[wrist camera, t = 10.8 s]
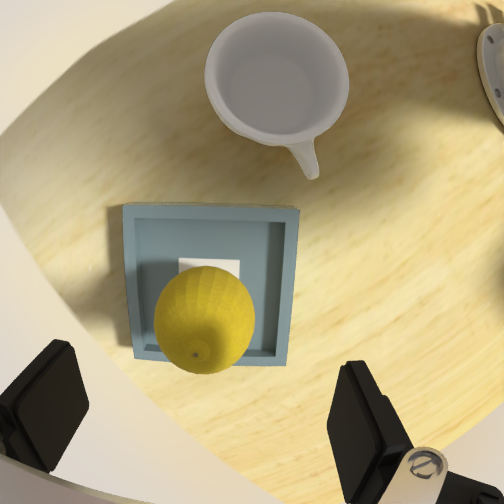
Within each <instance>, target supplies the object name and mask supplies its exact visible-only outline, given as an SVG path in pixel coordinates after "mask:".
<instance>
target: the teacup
mask: <svg viewBox="0 0 504 504" xmlns="http://www.w3.org/2000/svg"><path fill="white" fill-rule="evenodd" d="M204 82H205V88H206V92H207V95H208V98H209V100H210V102H211V105H212V107H213V108H214V110H215V112H216V114H217V115H218V117H219V118H220V119H221V121H222V122H223V123H224V124H225V125H226V126H227V127H228V128H229V129H230V130H232V131H233V132H235V133H236V134H238V135H241V136H244V137H246V138H249V139H251V140H254V141H256V142H258V143H260V144H263V145H268V146H285V147H287V148H288V149H289V150H290V151H291V153H292V154H293V155H294V157H295V158H296V160H297V161H298V163H299V165H300V167H301V169H302V171H303V173H304V174H305V176H306V177H307V178H308V179H309V180H313V179H315V178H317V177H318V176H319V166H318V162H317V158H316V154H315V150H314V138H315V137H317V136H319V135H321V134H322V133H324V132H325V131H326V130H328V129H329V128H330V127H331V126H332V125H333V124H334V123H335V122H336V121H337V119H338V118H339V117H340V115H341V113H342V111H343V109H344V107H345V105H346V102H347V98H348V93H349V75H348V69H347V66H346V63H345V60H344V58H343V55H342V53H341V52H340V50H339V48H338V47H337V45H336V44H335V43H334V41H333V40H332V39H331V38H330V37H329V36H328V35H327V34H326V33H325V32H324V31H323V30H322V29H320V28H319V27H318V26H316V25H315V24H313V23H311V22H310V21H308V20H306V19H304V18H301V17H298V16H296V15H292V14H288V13H283V12H260V13H255V14H251V15H248V16H245V17H242V18H240V19H238V20H236V21H235V22H233V23H231V24H230V25H229V26H227V27H226V28H225V29H224V30H223V31H222V32H221V33H220V34H219V35H218V36H217V38H216V39H215V41H214V42H213V44H212V46H211V48H210V50H209V53H208V56H207V59H206V64H205V71H204Z"/></svg>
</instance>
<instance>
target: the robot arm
mask: <svg viewBox="0 0 504 504" xmlns="http://www.w3.org/2000/svg"><path fill="white" fill-rule="evenodd" d="M477 61H478V68H479V72H480V76H481V81H482V83H483V86H484V89H485V92H486V95H487V97H488V99H489V101H490V104H491V106H492V108H493V110H494V111H495V113H496V115H497V117H498V118H499V120H500V121H501V123H502V124H503V126H504V24H501V23H497V24H492V25H490V26H488V27H486V28H485V29H484V30H483V31H482V32H481V34H480V36H479V38H478V43H477ZM88 409H89V401H88V397H87V394H86V391H85V388H84V384H83V381H82V377H81V373H80V370H79V366H78V362H77V358H76V354H75V350H74V348H73V347H72V346H71V345H70V343H69V342H67V341H63V340H57V339H54V340H53V341H52V342H51V343H50V344H49V345H48V346H47V347H46V348H45V349H44V350H43V351H42V352H41V353H40V354H39V355H38V356H37V357H36V358H35V359H34V360H33V361H32V362H31V363H30V364H29V365H28V366H27V367H26V368H25V369H24V370H23V371H22V373H20V375H19V376H18V377H17V378H16V379H15V380H14V381H13V382H12V383H11V384H10V385H9V386H8V387H7V389H6V390H5V391H4V392H3V393H2V394H1V395H0V504H153V503H148V502H142V501H138V500H133V499H129V498H124V497H120V496H116V495H112V494H108V493H104V492H101V491H98V490H94V489H91V488H87V487H84V486H81V485H78V484H75V483H72V482H69V481H66V480H63V479H60V478H58V477H55V476H52V475H50V474H49V473H50V471H54V469H55V468H56V466H57V464H58V462H59V461H60V459H61V457H62V455H63V453H64V451H65V450H66V448H67V446H68V444H69V443H70V441H71V439H72V437H73V435H74V434H75V432H76V430H77V429H78V427H79V425H80V423H81V421H82V420H83V418H84V416H85V415H86V413H87V411H88ZM327 431H328V435H329V439H330V443H331V447H332V451H333V455H334V459H335V463H336V467H337V471H338V475H339V479H340V483H341V487H342V491H343V495H344V499H345V502H346V503H347V504H350V503H351V504H504V496H503V494H502V493H501V491H500V490H498V489H497V488H496V487H494V486H491V485H488V484H485V483H482V482H479V481H476V480H473V479H470V478H467V477H464V476H461V475H458V474H455V473H453V472H450V471H447V470H448V463H447V460H446V458H445V457H444V455H443V454H442V453H440V452H439V451H438V450H435V449H433V448H429V447H417V448H414V447H413V445H412V443H411V441H410V439H409V437H408V435H407V433H406V431H405V429H404V427H403V425H402V423H401V421H400V419H399V417H398V415H397V413H396V411H395V409H394V408H393V406H392V404H391V402H390V400H389V398H388V397H387V396H385V395H382V393H381V392H380V390H379V388H378V386H377V384H376V382H375V380H374V378H373V376H372V374H371V372H370V371H369V369H368V367H367V365H366V363H365V362H364V361H363V360H359V361H347V362H346V364H345V365H342V366H341V367H340V371H339V375H338V380H337V384H336V388H335V393H334V397H333V401H332V405H331V409H330V413H329V416H328V420H327Z"/></svg>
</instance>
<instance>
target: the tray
mask: <svg viewBox="0 0 504 504" xmlns="http://www.w3.org/2000/svg"><path fill="white" fill-rule="evenodd" d="M122 207H123V244H124V263H125V278H126V290H127V302H128V312H129V321H130V329H131V337H132V345H133V352H134V359H143V360H153V361H164V362H171V361H170V360H169V359H168V358H167V357H166V356H165V355H164V353H163V352H162V351H161V349H160V347H159V345H158V343H157V340H156V335H155V331H154V314H155V307H156V304H157V302H158V299H159V296H160V294H161V292H162V291H163V289H164V288H165V287H166V285H167V284H168V283H169V281H170V280H171V279H173V278H174V277H175V276H177V275H178V274H179V273H181V272H182V271H185V270H187V269H190V268H193V267H199V266H213V267H218V268H221V269H223V270H226V271H228V272H230V273H231V274H232V275H234V276H235V277H237V278H238V279H239V280H240V281H241V282H242V284H243V285H244V286H245V287H246V289H247V291H248V293H249V295H250V297H251V299H252V302H253V306H254V311H255V325H254V332H253V335H252V338H251V341H250V343H249V346H248V348H247V349H246V351H245V352H244V354H243V355H242V356H241V358H240V359H239V360H238V361H237V362H235V363H234V364H233V366H286V360H287V351H288V342H289V332H290V322H291V312H292V301H293V290H294V279H295V267H296V254H297V241H298V227H299V212H300V210H299V209H297V208H296V207H294V206H276V205H253V204H224V203H179V202H132V203H129V204H126V205H122Z"/></svg>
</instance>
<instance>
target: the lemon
mask: <svg viewBox="0 0 504 504" xmlns="http://www.w3.org/2000/svg"><path fill="white" fill-rule="evenodd" d="M254 325H255V311H254V306H253V302H252V299H251V297H250V295H249V293H248V291H247V289H246V287H245V286H244V285H243V284H242V282H241V281H240V280H239V279H238V278H237V277H235V276H234V275H232V274H231V273H230V272H228V271H226V270H223V269H221V268H218V267H213V266H199V267H193V268H190V269H187V270H185V271H182V272H181V273H179V274H178V275H177V276H175V277H174V278H173V279H171V280H170V281H169V283H168V284H167V285H166V287H165V288H164V289H163V291H162V292H161V294H160V296H159V299H158V302H157V304H156V307H155V314H154V331H155V335H156V340H157V343H158V345H159V347H160V349H161V351H162V352H163V353H164V355H165V356H166V357H167V358H168V359H169V360H170V361H171V362H172V363H173V364H175V365H176V366H177V367H179V368H181V369H183V370H185V371H187V372H191V373H195V374H212V373H217V372H220V371H222V370H225V369H227V368H229V367H230V366H232V365H233V364H234V363H235V362H237V361H238V360H239V359H240V358H241V356H242V355H243V354H244V352H245V351H246V349H247V348H248V346H249V343H250V341H251V338H252V335H253V332H254Z"/></svg>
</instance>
